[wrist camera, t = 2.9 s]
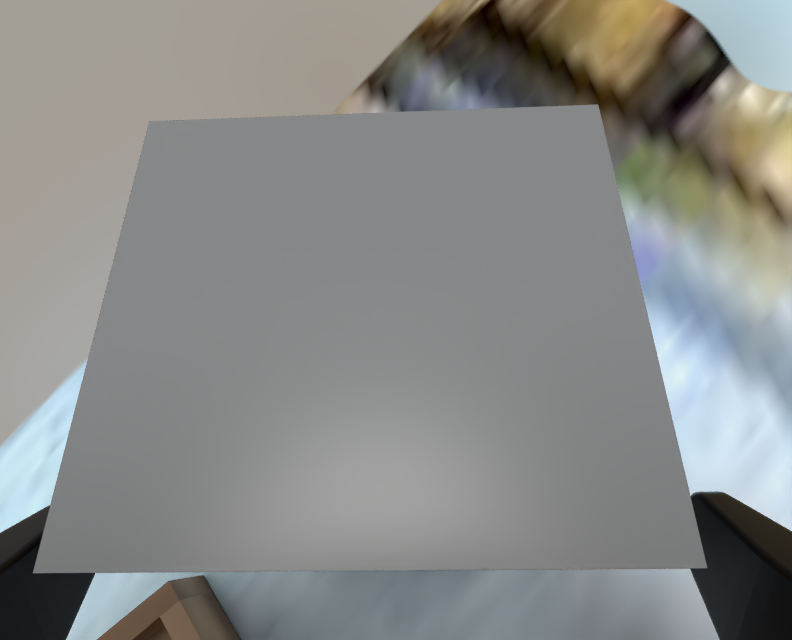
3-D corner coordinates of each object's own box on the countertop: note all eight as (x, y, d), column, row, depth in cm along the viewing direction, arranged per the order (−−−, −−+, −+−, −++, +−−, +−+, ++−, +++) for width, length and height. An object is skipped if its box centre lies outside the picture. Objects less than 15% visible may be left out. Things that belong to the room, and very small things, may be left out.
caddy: (491, 549, 16) (715, 575, 4) (316, 550, 16) (25, 579, 4) (479, 393, 18) (601, 101, 6) (324, 395, 18) (146, 118, 6)
